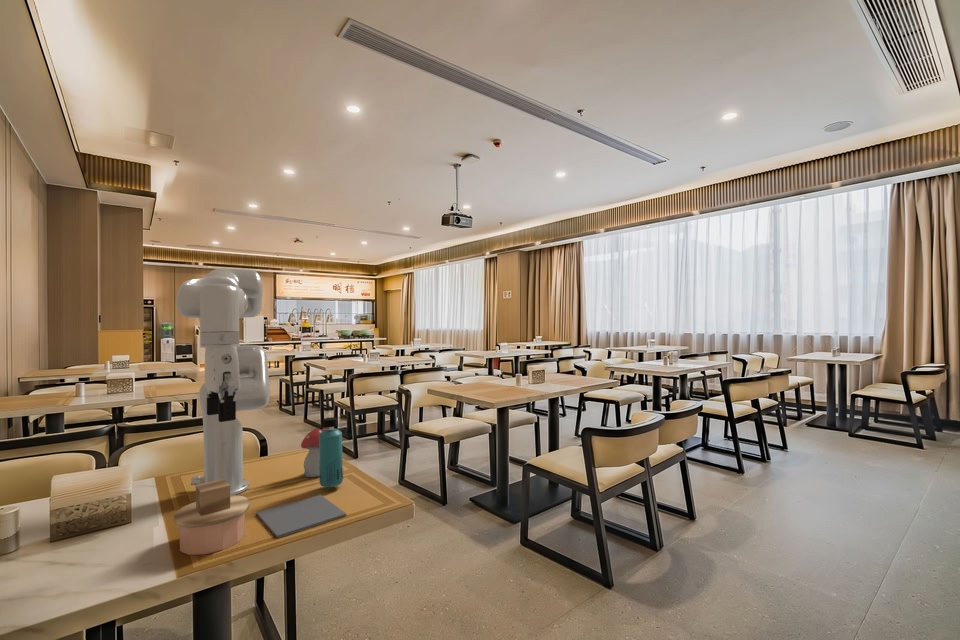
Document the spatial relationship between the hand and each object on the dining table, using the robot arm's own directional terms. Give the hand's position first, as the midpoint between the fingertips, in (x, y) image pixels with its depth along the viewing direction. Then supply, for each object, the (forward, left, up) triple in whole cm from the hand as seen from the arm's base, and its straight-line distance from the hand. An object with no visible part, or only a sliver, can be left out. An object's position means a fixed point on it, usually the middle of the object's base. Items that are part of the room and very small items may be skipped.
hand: (220, 417), depth 97 cm
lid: (-1, -1, -21) cm, 21 cm away
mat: (+13, +10, -27) cm, 31 cm away
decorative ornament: (+8, +39, -27) cm, 48 cm away
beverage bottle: (+16, +27, -27) cm, 41 cm away
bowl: (-1, -1, -27) cm, 27 cm away
